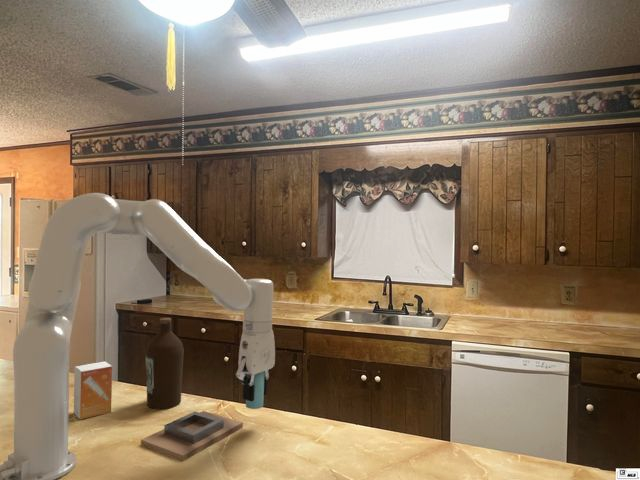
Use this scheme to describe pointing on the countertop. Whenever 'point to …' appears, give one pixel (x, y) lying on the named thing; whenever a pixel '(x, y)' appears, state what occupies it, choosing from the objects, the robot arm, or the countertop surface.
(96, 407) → the small box
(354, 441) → the countertop surface
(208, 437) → the collar board
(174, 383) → the olive oil
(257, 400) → the teal peg
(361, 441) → the countertop surface
